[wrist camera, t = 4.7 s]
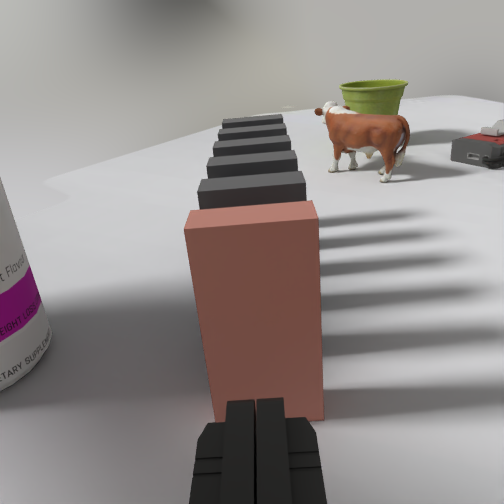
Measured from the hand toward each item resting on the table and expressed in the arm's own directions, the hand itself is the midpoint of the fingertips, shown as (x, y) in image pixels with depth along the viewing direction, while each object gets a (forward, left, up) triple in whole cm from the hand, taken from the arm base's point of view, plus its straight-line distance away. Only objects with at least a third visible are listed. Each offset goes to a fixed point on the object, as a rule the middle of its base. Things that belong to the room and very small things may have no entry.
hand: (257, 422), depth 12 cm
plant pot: (+17, +60, -7) cm, 62 cm away
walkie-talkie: (+34, +49, -8) cm, 60 cm away
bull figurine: (+12, +46, -7) cm, 48 cm away
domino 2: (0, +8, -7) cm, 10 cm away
